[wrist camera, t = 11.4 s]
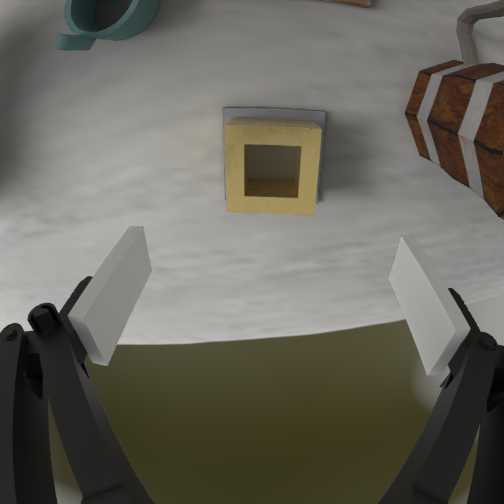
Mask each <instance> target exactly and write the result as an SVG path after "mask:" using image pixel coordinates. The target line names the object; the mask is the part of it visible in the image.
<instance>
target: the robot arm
mask: <svg viewBox="0 0 504 504" xmlns="http://www.w3.org/2000/svg"><path fill="white" fill-rule="evenodd" d="M151 271H152V268H151V264H150V259H149V254H148V249H147V244H146V239H145V233H144V228H143V227H134V226H130V227H129V228H128V230H127V231H126V232H125V234H124V235H123V236H122V238H121V239H120V240H119V242H118V243H117V244H116V246H115V247H114V248H113V250H112V251H111V252H110V254H109V255H108V257H107V258H106V259H105V261H104V262H103V264H102V265H101V266H100V268H99V269H98V271H97V272H96V274H95V275H94V276H93V277H91V276H88V277H86V278H85V279H84V280H82V281H81V282H80V283H79V284H78V286H77V287H76V289H75V290H74V292H73V293H72V294H71V296H70V298H69V299H68V300H67V302H66V303H65V305H64V306H63V308H62V309H61V311H60V312H59V314H58V312H57V310H56V308H55V306H54V305H53V304H51V303H43V304H40V305H38V306H36V307H35V308H33V309H32V310H31V312H30V313H29V315H28V322H29V323H30V325H31V327H32V329H33V330H34V331H26V332H25V331H24V330H23V328H22V326H21V325H20V324H18V323H12V324H10V325H8V326H6V327H5V328H4V329H3V330H2V331H1V333H0V504H57V498H56V493H55V486H54V479H53V472H52V464H51V453H50V441H49V423H48V397H49V401H50V405H51V408H52V412H53V416H54V419H55V422H56V426H57V429H58V432H59V435H60V438H61V441H62V444H63V447H64V450H65V452H66V455H67V458H68V461H69V463H70V466H71V468H72V471H73V473H74V476H75V478H76V481H77V483H78V485H79V487H80V490H81V492H82V495H83V499H82V501H81V504H155V503H154V502H153V501H152V499H151V498H150V496H149V495H148V493H147V491H146V490H145V488H144V486H143V485H142V483H141V481H140V480H139V478H138V476H137V474H136V473H135V471H134V469H133V467H132V466H131V464H130V462H129V460H128V458H127V456H126V454H125V453H124V451H123V449H122V447H121V445H120V443H119V441H118V439H117V437H116V435H115V433H114V431H113V428H112V426H111V424H110V422H109V420H108V418H107V415H106V413H105V411H104V408H103V406H102V404H101V402H100V399H99V397H98V394H97V392H96V389H95V387H94V384H93V381H92V379H91V376H90V374H89V371H88V368H87V365H86V364H85V362H84V360H85V358H86V356H87V354H88V356H89V358H90V360H91V361H92V363H97V364H101V365H106V366H107V365H108V363H109V361H110V359H111V356H112V353H113V352H114V349H115V347H116V345H117V343H118V340H119V338H120V336H121V334H122V332H123V329H124V327H125V325H126V323H127V321H128V319H129V316H130V314H131V312H132V310H133V308H134V306H135V304H136V302H137V300H138V298H139V296H140V293H141V291H142V289H143V287H144V285H145V283H146V281H147V279H148V277H149V275H150V273H151ZM389 281H390V283H391V285H392V288H393V290H394V292H395V294H396V297H397V299H398V301H399V304H400V306H401V308H402V311H403V313H404V316H405V318H406V320H407V323H408V325H409V328H410V330H411V333H412V335H413V338H414V341H415V343H416V346H417V348H418V351H419V354H420V356H421V359H422V362H423V365H424V367H425V370H426V373H427V376H429V375H437V374H442V372H443V371H444V370H445V368H446V367H447V365H448V366H449V369H450V371H451V372H450V373H449V375H448V376H447V377H446V379H445V380H444V381H443V383H442V384H441V385H440V387H442V386H443V388H442V391H441V393H440V395H439V397H438V399H437V402H436V404H435V406H434V408H433V410H432V413H431V415H430V417H429V419H428V421H427V423H426V425H425V427H424V429H423V431H422V433H421V435H420V436H419V439H418V440H417V442H416V444H415V446H414V448H413V449H412V451H411V453H410V455H409V457H408V458H407V460H406V461H405V463H404V465H403V466H402V468H401V470H400V471H399V473H398V475H397V476H396V478H395V479H394V481H393V482H392V484H391V485H390V487H389V488H388V490H387V491H386V493H385V494H384V496H383V497H382V499H381V500H380V501H379V503H378V504H448V500H449V498H450V496H451V494H452V492H453V490H454V488H455V485H456V483H457V481H458V479H459V477H460V474H461V472H462V470H463V468H464V465H465V463H466V461H467V458H468V456H469V453H470V451H471V448H472V445H473V442H474V440H475V437H476V434H477V431H478V428H479V425H480V429H479V438H478V447H477V454H476V460H475V466H474V472H473V477H472V482H471V487H470V491H469V496H468V500H467V504H504V346H502V345H498V344H497V342H496V340H495V339H494V338H493V337H492V336H491V335H490V334H488V333H485V332H481V331H480V329H479V327H478V326H477V324H476V322H475V320H474V318H473V317H472V315H471V313H470V312H469V311H468V308H467V306H466V305H464V301H463V300H462V298H461V297H460V295H459V294H458V293H457V292H456V291H455V290H454V289H452V288H447V287H446V285H445V283H444V282H443V280H442V279H441V277H440V275H439V274H438V272H437V271H436V269H435V268H434V266H433V265H432V263H431V261H430V260H429V258H428V257H427V255H426V254H425V253H424V251H423V250H422V248H421V247H420V245H419V244H418V242H417V241H416V239H415V238H414V237H412V236H401V238H400V241H399V245H398V249H397V252H396V256H395V259H394V262H393V266H392V269H391V272H390V275H389Z"/></svg>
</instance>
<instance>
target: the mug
mask: <svg viewBox="0 0 504 504" xmlns="http://www.w3.org/2000/svg"><path fill="white" fill-rule="evenodd" d="M502 16H504V0H500V1H497V2H493V3H490V4H487V5H481V6H476V7H472V8H469V9H466V10H465V11H464V12H463V13H462V14H461V15H460V17H459V18H458V19H457V29H456V32H457V36H458V39H459V43H460V47H461V52H462V58H463V62H460V61H456V60H452V61H449V62H446V63H443V64H439V65H436V66H433V67H430V68H427V69H425V70H422V71H419V74H418V77H417V80H416V83H415V85H414V88H413V91H412V94H411V97H410V100H409V102H408V105H407V108H406V111H405V115H406V118H407V120H408V123H409V126H410V128H411V131H412V134H413V137H414V140H415V143H416V146H417V149H418V152H419V155H420V156H422V157H424V158H426V159H428V160H430V161H432V162H434V163H436V164H437V165H439V166H440V167H441V168H442V169H444V170H445V171H446V172H447V173H448V174H449V175H450V176H451V177H452V178H453V179H455V180H457V181H458V182H460V183H462V184H464V185H465V186H467V187H469V188H470V189H472V190H473V191H474V192H475V193H477V194H478V195H479V196H480V197H482V198H483V199H484V200H485V201H486V202H487V204H488V205H489V206H490V207H491V208H492V209H493V211H494V212H495V213H496V214H497V215H498V217H500V218H502V219H503V220H504V66H503V65H499V64H496V63H488V64H478V59H477V53H476V48H475V44H474V41H473V38H472V30H473V24H474V23H476V22H477V21H478V20H479V19H485V18H493V17H502Z"/></svg>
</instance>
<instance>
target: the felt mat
mask: <svg viewBox="0 0 504 504" xmlns="http://www.w3.org/2000/svg"><path fill="white" fill-rule="evenodd" d="M325 115H326V112H325V111H315V110H301V109H283V108H223V138H224V178H225V200H227V196H226V160H225V125H226V124H227V123H228V122H229V121H230V120H231V118H276V119H297V120H312V121H315V122H316V124H317V125H318V126H319V127H320V128H321V129H322V132H321V146H320V159H319V170H318V181H317V192H316V202H315V204H318V197H319V188H320V177H321V167H322V155H323V143H324V130H325ZM295 162H296V146H285V145H255V144H248V178H265V179H291V180H294V179H295Z"/></svg>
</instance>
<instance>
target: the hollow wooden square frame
mask: <svg viewBox="0 0 504 504" xmlns="http://www.w3.org/2000/svg"><path fill="white" fill-rule="evenodd" d="M321 132H322V129H321V128H320V127H319V126H318V125H317V124H316V122H315V121H312V120H297V119H276V118H231V120H230V121H229V122H228V123H227V124H226V125H225V160H226V196H227V212H246V213H276V214H300V215H314V211H315V202H316V192H317V181H318V170H319V159H320V146H321ZM248 144H255V145H285V146H296V162H295V179H294V180H291V179H265V178H248Z"/></svg>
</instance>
